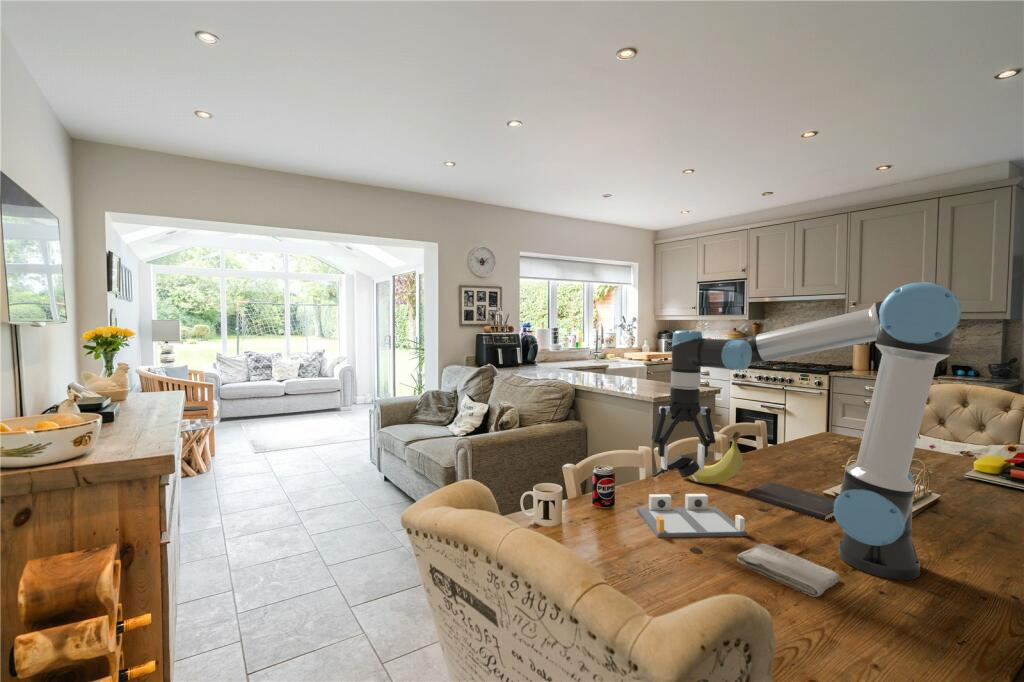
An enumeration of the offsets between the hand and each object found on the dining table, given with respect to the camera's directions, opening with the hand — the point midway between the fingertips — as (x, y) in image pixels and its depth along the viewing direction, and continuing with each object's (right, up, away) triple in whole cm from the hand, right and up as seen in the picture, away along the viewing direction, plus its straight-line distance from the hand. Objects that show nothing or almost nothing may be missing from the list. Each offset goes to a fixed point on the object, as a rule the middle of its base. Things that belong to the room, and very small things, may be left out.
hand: (682, 468), depth 130 cm
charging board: (+3, -16, +3) cm, 16 cm away
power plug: (-1, -3, +1) cm, 4 cm away
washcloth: (+15, -18, -23) cm, 33 cm away
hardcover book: (+42, -16, +18) cm, 49 cm away
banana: (+21, -15, +35) cm, 44 cm away
